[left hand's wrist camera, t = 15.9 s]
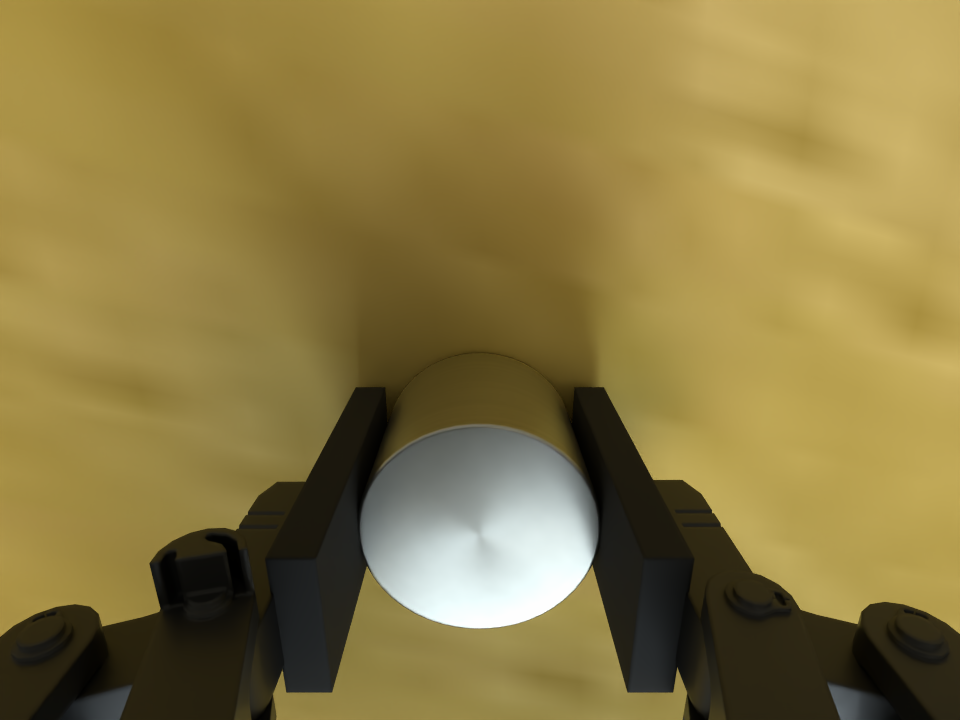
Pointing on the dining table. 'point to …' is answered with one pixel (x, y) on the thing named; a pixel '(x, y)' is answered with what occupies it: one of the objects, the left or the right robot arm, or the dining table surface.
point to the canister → (479, 496)
